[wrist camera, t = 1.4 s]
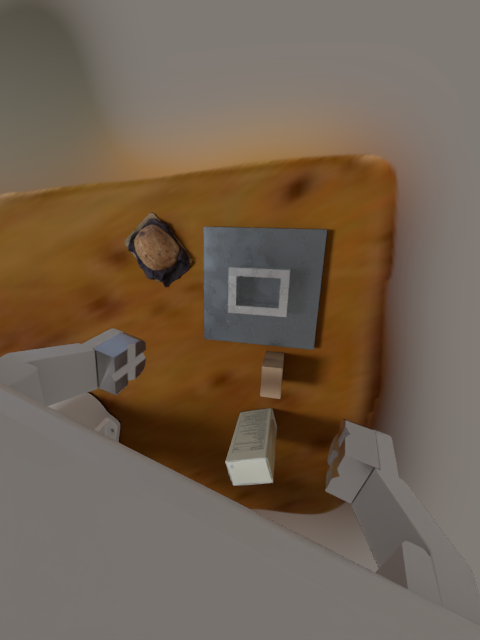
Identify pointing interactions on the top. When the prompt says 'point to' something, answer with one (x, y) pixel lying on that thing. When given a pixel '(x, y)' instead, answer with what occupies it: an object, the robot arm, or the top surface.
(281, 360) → the walnut peg
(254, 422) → the skincare box
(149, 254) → the bread roll
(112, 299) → the top surface
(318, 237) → the metal duct collar
